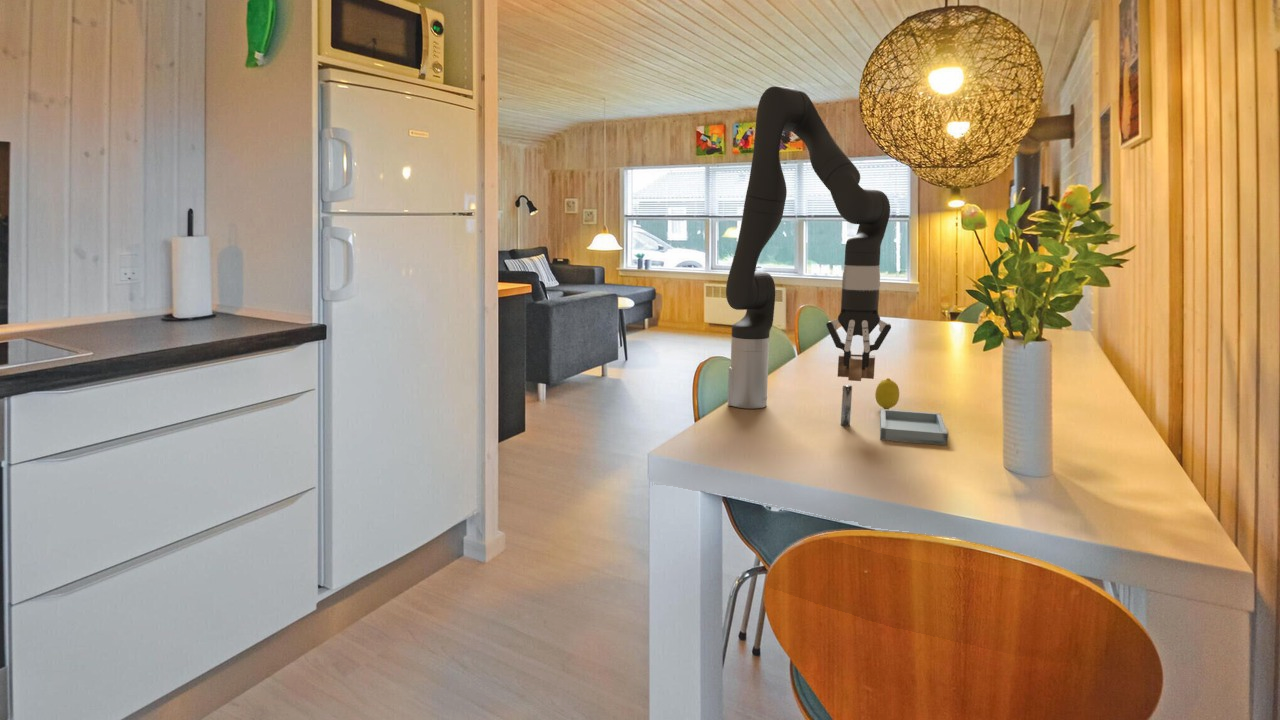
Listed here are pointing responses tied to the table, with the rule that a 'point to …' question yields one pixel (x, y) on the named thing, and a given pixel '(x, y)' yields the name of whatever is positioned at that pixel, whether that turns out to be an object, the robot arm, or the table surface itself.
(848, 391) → the peg
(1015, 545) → the table surface
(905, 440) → the tray
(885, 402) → the lemon
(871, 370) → the collar
